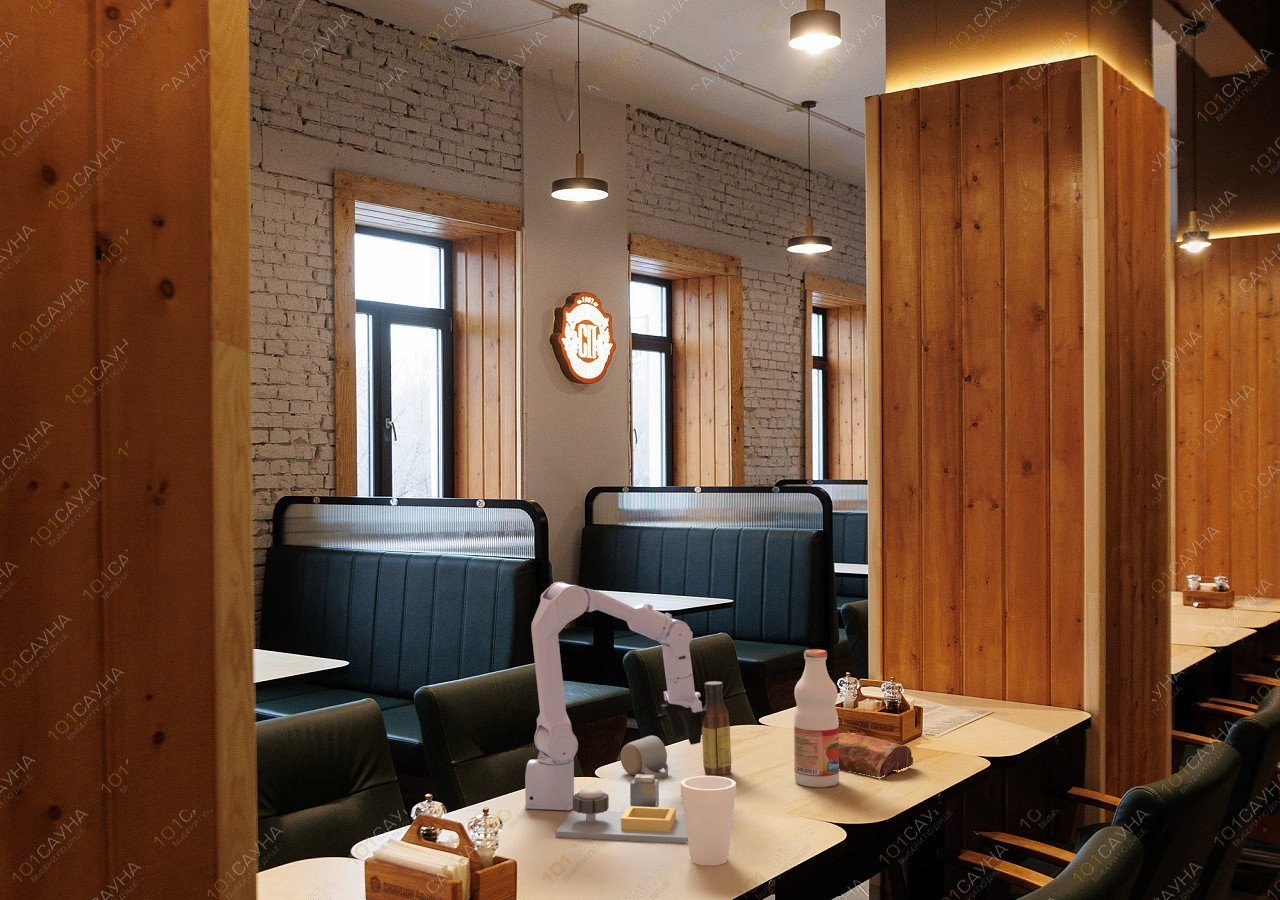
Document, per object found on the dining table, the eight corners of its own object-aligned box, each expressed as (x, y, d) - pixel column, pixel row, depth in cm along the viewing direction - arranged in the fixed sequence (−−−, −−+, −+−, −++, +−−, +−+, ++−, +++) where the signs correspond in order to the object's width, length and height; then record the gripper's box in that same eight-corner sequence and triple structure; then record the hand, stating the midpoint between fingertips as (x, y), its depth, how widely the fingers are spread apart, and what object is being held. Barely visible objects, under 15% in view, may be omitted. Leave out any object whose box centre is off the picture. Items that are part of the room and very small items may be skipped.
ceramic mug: (617, 773, 255) (617, 738, 255) (644, 766, 260) (644, 732, 260) (650, 783, 247) (650, 747, 247) (677, 776, 253) (677, 741, 253)
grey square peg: (630, 811, 225) (630, 778, 226) (634, 805, 229) (633, 773, 229) (655, 812, 224) (655, 779, 225) (658, 806, 228) (658, 774, 229)
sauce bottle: (731, 769, 257) (731, 680, 258) (731, 776, 251) (730, 685, 252) (702, 768, 258) (701, 679, 258) (701, 776, 252) (700, 684, 252)
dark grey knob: (570, 813, 213) (570, 795, 213) (577, 803, 219) (577, 786, 219) (604, 814, 212) (603, 797, 212) (610, 804, 218) (610, 787, 218)
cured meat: (833, 747, 279) (832, 719, 279) (924, 765, 261) (923, 735, 261) (787, 762, 266) (786, 732, 266) (879, 782, 248) (878, 750, 248)
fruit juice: (793, 776, 251) (792, 647, 252) (837, 777, 250) (836, 647, 251) (795, 787, 242) (794, 654, 242) (840, 788, 241) (839, 654, 241)
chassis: (555, 836, 209) (555, 818, 210) (573, 814, 223) (573, 797, 223) (686, 843, 205) (686, 824, 205) (696, 820, 219) (696, 802, 219)
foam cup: (703, 847, 203) (703, 773, 204) (747, 857, 197) (746, 781, 198) (670, 861, 196) (670, 784, 196) (715, 872, 190) (714, 793, 190)
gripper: (711, 677, 236) (720, 742, 237) (681, 666, 250) (689, 728, 250) (680, 684, 234) (689, 750, 234) (652, 673, 247) (660, 735, 247)
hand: (687, 739), depth 242 cm, fingers open, 7 cm apart
